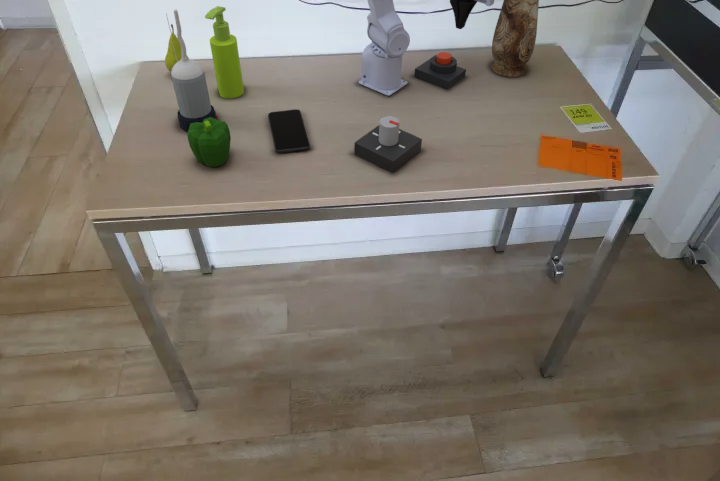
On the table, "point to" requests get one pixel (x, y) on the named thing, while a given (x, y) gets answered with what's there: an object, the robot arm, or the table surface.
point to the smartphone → (288, 131)
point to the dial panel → (387, 149)
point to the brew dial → (389, 131)
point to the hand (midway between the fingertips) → (460, 27)
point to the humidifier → (190, 87)
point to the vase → (514, 36)
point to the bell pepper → (210, 141)
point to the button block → (440, 73)
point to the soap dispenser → (225, 56)
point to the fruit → (170, 56)
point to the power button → (443, 58)
